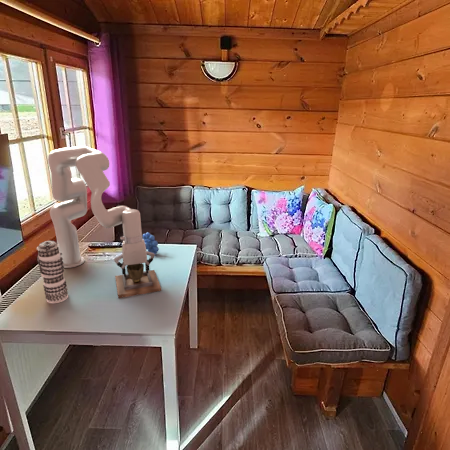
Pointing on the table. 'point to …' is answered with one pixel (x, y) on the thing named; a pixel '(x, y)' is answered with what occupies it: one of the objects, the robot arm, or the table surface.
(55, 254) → the decorative candle
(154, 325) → the table surface
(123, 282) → the mounting board
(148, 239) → the grapes
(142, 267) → the cup
